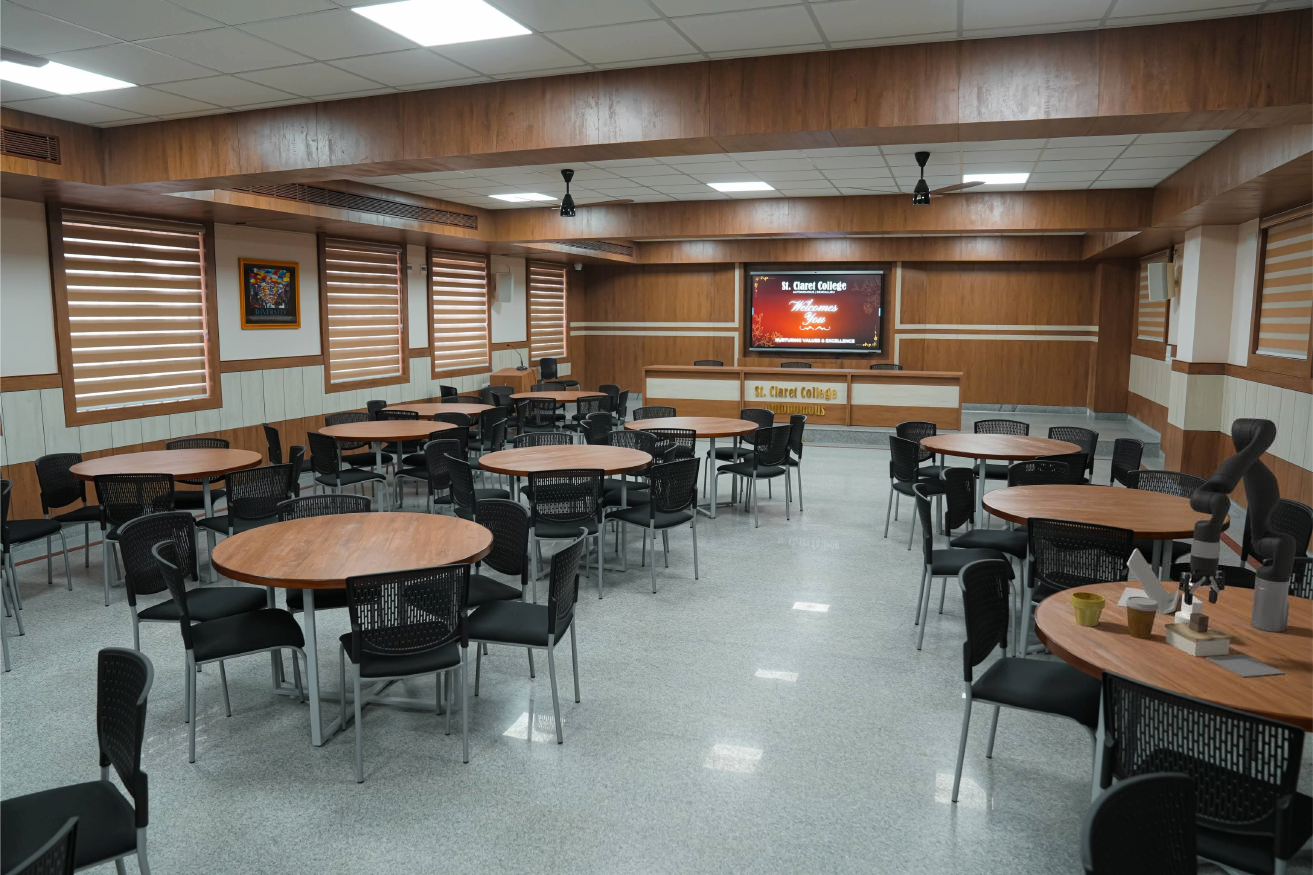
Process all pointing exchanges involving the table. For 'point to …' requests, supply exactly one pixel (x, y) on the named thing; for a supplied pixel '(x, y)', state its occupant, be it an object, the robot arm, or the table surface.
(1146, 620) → the disposable coffee cup
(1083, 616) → the plant pot
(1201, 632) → the lid
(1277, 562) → the robot arm
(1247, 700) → the table surface
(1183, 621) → the white knob
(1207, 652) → the box
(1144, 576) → the tablet stand
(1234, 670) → the mat
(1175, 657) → the table surface
